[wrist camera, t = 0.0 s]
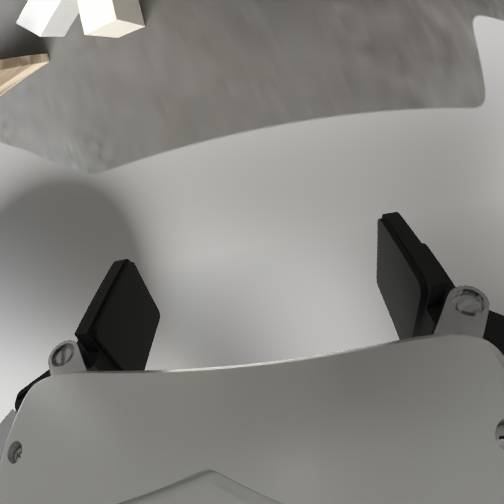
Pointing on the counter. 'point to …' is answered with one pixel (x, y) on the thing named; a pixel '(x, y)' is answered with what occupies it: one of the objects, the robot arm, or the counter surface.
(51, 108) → the counter surface
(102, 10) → the white block
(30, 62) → the wide wooden block
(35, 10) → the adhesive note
